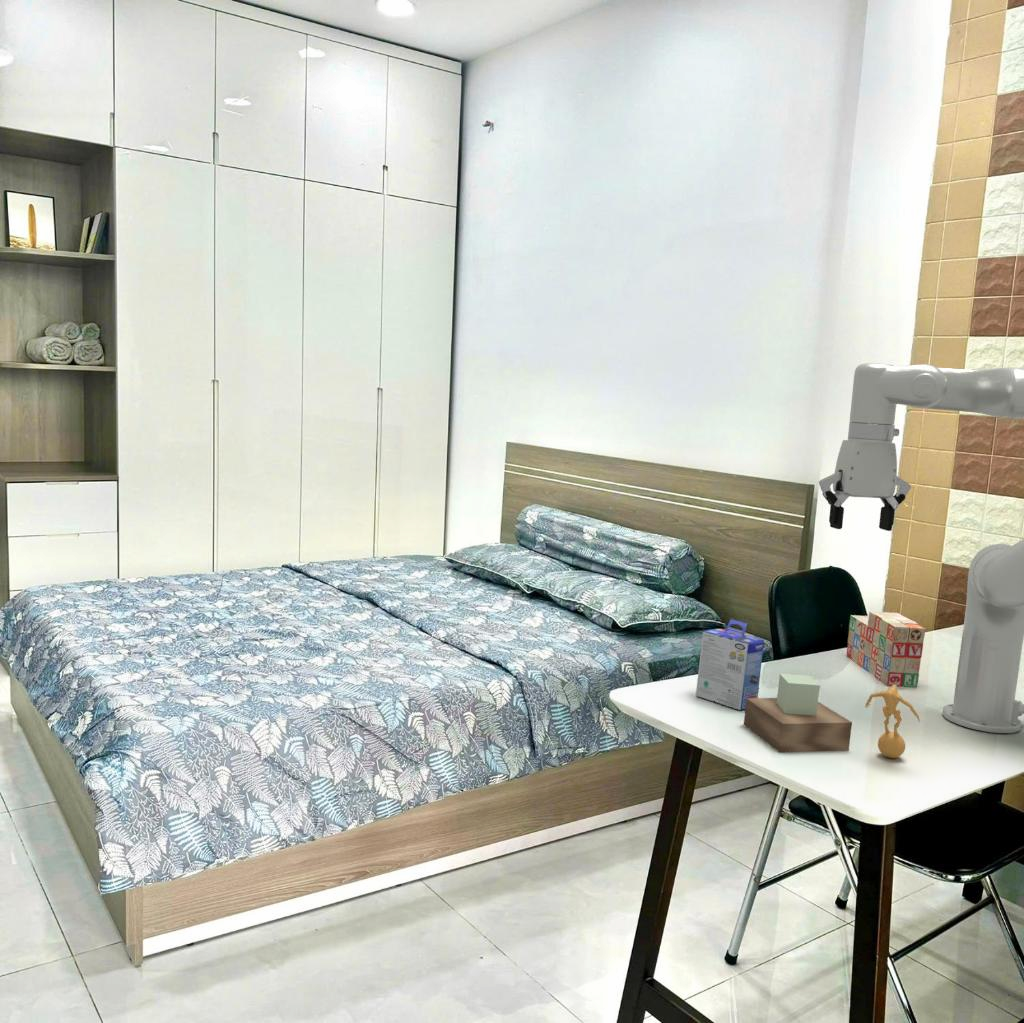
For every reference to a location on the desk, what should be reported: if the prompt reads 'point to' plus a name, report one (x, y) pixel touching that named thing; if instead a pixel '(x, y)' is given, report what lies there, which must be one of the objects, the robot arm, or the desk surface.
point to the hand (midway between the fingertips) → (860, 528)
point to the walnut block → (797, 727)
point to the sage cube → (798, 694)
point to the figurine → (889, 741)
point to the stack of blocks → (887, 647)
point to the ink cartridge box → (729, 666)
